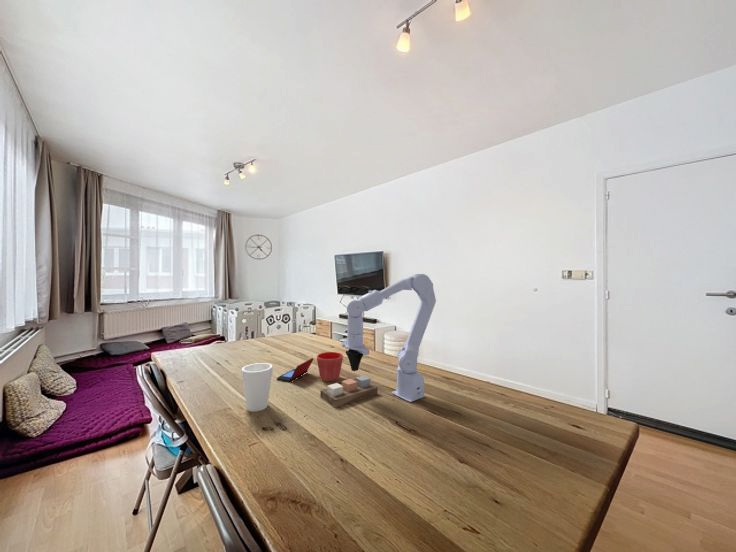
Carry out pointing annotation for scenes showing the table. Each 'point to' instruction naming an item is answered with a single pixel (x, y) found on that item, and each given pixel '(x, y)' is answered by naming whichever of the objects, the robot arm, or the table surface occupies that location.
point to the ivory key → (334, 389)
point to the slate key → (362, 381)
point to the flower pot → (329, 365)
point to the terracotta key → (349, 385)
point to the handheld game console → (296, 372)
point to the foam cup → (256, 385)
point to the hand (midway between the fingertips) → (354, 370)
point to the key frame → (349, 395)
